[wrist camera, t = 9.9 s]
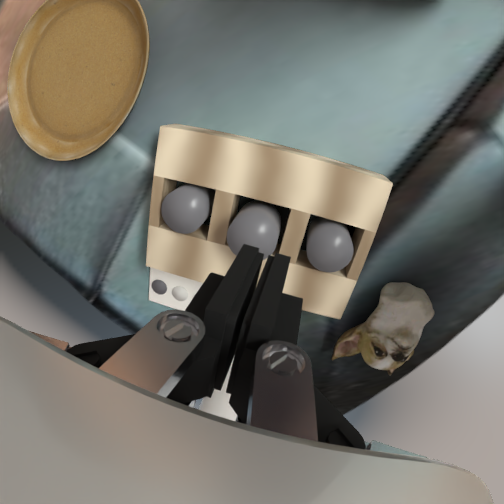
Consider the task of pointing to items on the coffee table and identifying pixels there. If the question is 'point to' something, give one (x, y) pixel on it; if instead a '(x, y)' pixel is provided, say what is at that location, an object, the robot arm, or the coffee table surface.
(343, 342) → the ceramic sculpture
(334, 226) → the button
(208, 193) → the button
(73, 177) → the coffee table surface
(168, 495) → the robot arm
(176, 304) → the pattern card
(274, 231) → the middle button
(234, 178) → the button board
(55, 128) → the plant saucer
